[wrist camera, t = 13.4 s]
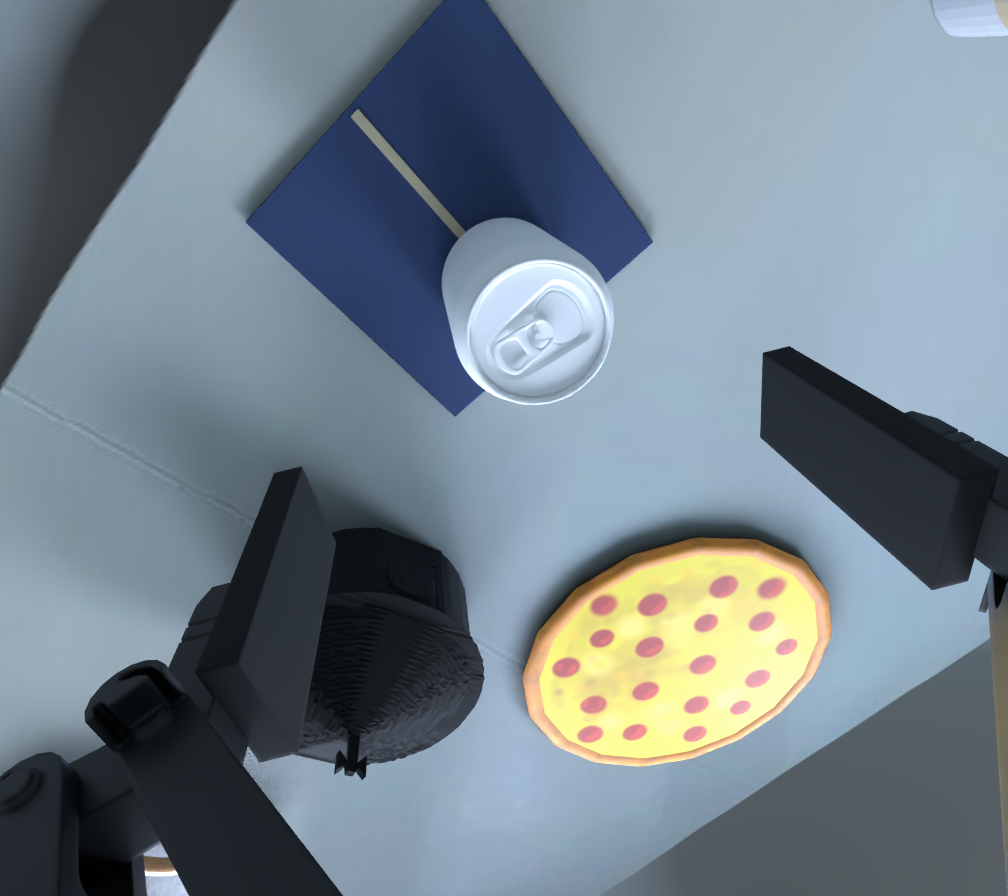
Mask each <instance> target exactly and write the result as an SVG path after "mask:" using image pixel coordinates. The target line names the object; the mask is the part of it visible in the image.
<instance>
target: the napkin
mask: <svg viewBox="0 0 1008 896" xmlns="http://www.w3.org/2000/svg"><path fill="white" fill-rule="evenodd" d="M495 218H516V219H521V220H524V221H527V222H529V223H532V224H534V225H535V226H537V227H539V228H540V229H542V230H544V231H545V232H547V233H548V234H550V235H551V236H553V237H555V238H556V239H558V240H559V241H561V242H562V243H564V244H566V245H567V246H569V247H570V248H572V249H573V250H575V251H577V252H578V253H580V254H581V255H582V256H584V257H585V258H586V259H588V260H589V261H590V262H591V263H592V264H593V265H594V266H595V268H596V269H597V270H598V271H599V273H600V274H601V276H602V277H603V279H604V281H605V283H607V282H608V281H609V280H610V279H612V278H613V277H614V276H615V275H616V274H617V273H618V272H620V271H621V270H622V269H623V268H624V267H625V266H626V265H627V264H629V263H630V262H631V261H632V260H633V259H634V258H635V257H637V256H638V255H639V254H640V253H641V252H642V251H643V250H644V249H646V248H647V247H648V246H649V245H650V244H651V243H652V242H653V241H652V240H651V238H650V237H649V235H648V234H647V233H646V231H645V230H644V228H643V227H642V225H641V224H640V223H639V221H638V220H637V218H636V217H635V215H634V214H633V213H632V211H631V210H630V208H629V207H628V205H627V204H626V203H625V201H624V200H623V198H622V197H621V195H620V194H619V193H618V191H617V190H616V188H615V187H614V185H613V184H612V182H611V181H610V180H609V178H608V177H607V175H606V174H605V172H604V171H603V170H602V168H601V167H600V165H599V164H598V162H597V161H596V160H595V158H594V157H593V155H592V154H591V152H590V151H589V150H588V148H587V147H586V145H585V144H584V142H583V141H582V140H581V138H580V137H579V135H578V134H577V132H576V131H575V130H574V128H573V127H572V125H571V124H570V122H569V121H568V120H567V118H566V117H565V115H564V114H563V112H562V111H561V109H560V108H559V107H558V105H557V104H556V102H555V101H554V99H553V98H552V97H551V95H550V94H549V92H548V91H547V89H546V88H545V87H544V85H543V84H542V82H541V81H540V79H539V78H538V77H537V75H536V74H535V72H534V71H533V69H532V68H531V67H530V65H529V64H528V62H527V61H526V59H525V58H524V57H523V55H522V54H521V52H520V51H519V49H518V48H517V47H516V45H515V44H514V42H513V41H512V39H511V38H510V37H509V35H508V34H507V32H506V31H505V29H504V28H503V26H502V25H501V24H500V22H499V21H498V19H497V18H496V16H495V15H494V14H493V12H492V11H491V9H490V8H489V6H488V5H487V4H486V2H485V1H484V0H444V1H443V2H442V3H441V5H440V6H439V7H438V8H437V9H436V10H435V11H434V12H433V13H432V15H431V16H430V17H429V18H428V19H427V20H426V21H425V22H424V24H423V25H422V26H421V27H420V28H419V29H418V30H417V31H416V32H415V34H414V35H413V36H412V37H411V38H410V39H409V40H408V41H407V43H406V44H405V45H404V46H403V47H402V48H401V49H400V50H399V51H398V53H397V54H396V55H395V56H394V57H393V58H392V59H391V60H390V61H389V63H388V64H387V65H386V66H385V67H384V68H383V69H382V70H381V72H380V73H379V74H378V75H377V76H376V77H375V78H374V79H373V80H372V82H371V83H370V84H369V85H368V86H367V87H366V88H365V89H364V91H363V92H362V93H361V94H360V95H359V96H358V97H357V98H356V99H355V101H354V102H353V103H352V104H351V105H350V106H349V107H348V108H347V110H346V111H345V112H344V113H343V114H342V115H341V116H340V117H339V118H338V120H337V121H336V122H335V123H334V124H333V125H332V126H331V127H330V129H329V130H328V131H327V132H326V133H325V134H324V135H323V136H322V137H321V139H320V140H319V141H318V142H317V143H316V144H315V145H314V146H313V148H312V149H311V150H310V151H309V152H308V153H307V154H306V155H305V156H304V158H303V159H302V160H301V161H300V162H299V163H298V164H297V165H296V166H295V168H294V169H293V170H292V171H291V172H290V173H289V174H288V175H287V177H286V178H285V179H284V180H283V181H282V182H281V183H280V184H279V185H278V187H277V188H276V189H275V190H274V191H273V192H272V193H271V194H270V196H269V197H268V198H267V199H266V200H265V201H264V202H263V203H262V204H261V206H260V207H259V208H258V209H257V210H256V211H255V212H254V213H253V215H252V216H251V217H250V218H249V219H248V220H247V221H246V223H247V224H248V225H249V226H250V227H251V228H252V229H253V230H254V231H255V232H257V233H258V234H259V235H260V236H261V237H262V238H263V239H264V240H265V241H266V242H267V243H268V244H269V245H271V246H272V247H273V248H274V249H275V250H276V251H277V252H278V253H279V254H280V255H281V256H282V257H284V258H285V259H286V260H287V261H288V262H289V263H290V264H291V265H292V266H293V267H294V268H295V269H296V270H298V271H299V272H300V273H301V274H302V275H303V276H304V277H305V278H306V279H307V280H308V281H309V282H310V283H312V284H313V285H314V286H315V287H316V288H317V289H318V290H319V291H320V292H321V293H322V294H323V295H324V296H326V297H327V298H328V299H329V300H330V301H331V302H332V303H333V304H334V305H335V306H336V307H337V308H339V309H340V310H341V311H342V312H343V313H344V314H345V315H346V316H347V317H348V318H349V319H350V320H351V321H353V322H354V323H355V324H356V325H357V326H358V327H359V328H360V329H361V330H362V331H363V332H364V333H365V334H367V335H368V336H369V337H370V338H371V339H372V340H373V341H374V342H375V343H376V344H377V345H378V346H379V347H381V348H382V349H383V350H384V351H385V352H386V353H387V354H388V355H389V356H390V357H391V358H392V359H394V360H395V361H396V362H397V363H398V364H399V365H400V366H401V367H402V368H403V369H404V370H405V371H406V372H408V373H409V374H410V375H411V376H412V377H413V378H414V379H415V380H416V381H417V382H418V383H419V384H420V385H422V386H423V387H424V388H425V389H426V390H427V391H428V392H429V393H430V394H431V395H432V396H433V397H434V398H436V399H437V400H438V401H439V402H440V403H441V404H442V405H443V406H444V407H445V408H446V409H447V410H449V411H450V412H451V413H452V414H453V415H454V416H456V415H457V414H459V413H460V412H461V411H462V410H463V409H464V408H465V407H466V406H468V405H469V404H470V403H471V402H472V401H473V400H474V399H476V398H477V397H478V396H479V395H480V394H481V393H482V392H483V391H485V389H483V388H482V387H481V386H479V385H478V384H477V383H476V382H475V381H474V380H473V379H472V378H471V377H470V375H469V374H468V373H467V371H466V370H465V368H464V367H463V365H462V363H461V361H460V359H459V357H458V354H457V351H456V348H455V345H454V340H453V336H452V332H451V328H450V324H449V320H448V316H447V311H446V307H445V303H444V299H443V294H442V273H443V268H444V265H445V262H446V259H447V256H448V254H449V252H450V251H451V249H452V247H453V246H454V244H455V243H456V242H457V241H458V239H459V238H460V237H461V236H462V235H463V234H464V233H466V232H467V231H468V230H469V229H471V228H472V227H474V226H476V225H478V224H480V223H482V222H484V221H487V220H491V219H495Z"/></svg>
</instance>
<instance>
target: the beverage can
mask: <svg viewBox="0 0 1008 896" xmlns="http://www.w3.org/2000/svg"><path fill="white" fill-rule="evenodd" d="M442 294H443V299H444V303H445V307H446V311H447V316H448V320H449V324H450V328H451V332H452V336H453V340H454V345H455V348H456V351H457V354H458V357H459V359H460V361H461V363H462V365H463V367H464V368H465V370H466V371H467V373H468V374H469V375H470V377H471V378H472V379H473V380H474V381H475V382H476V383H477V384H478V385H479V386H481V387H482V388H483V389H485V390H486V391H487V392H489V393H491V394H493V395H495V396H497V397H499V398H502V399H504V400H508V401H512V402H516V403H520V404H528V405H540V404H547V403H552V402H556V401H559V400H561V399H564V398H566V397H568V396H570V395H572V394H574V393H575V392H577V391H578V390H580V389H581V388H582V387H584V386H585V385H586V384H587V383H588V382H589V381H590V380H591V379H592V378H593V377H594V376H595V374H596V373H597V372H598V370H599V369H600V367H601V366H602V364H603V362H604V360H605V358H606V356H607V353H608V351H609V348H610V344H611V339H612V332H613V323H614V313H613V304H612V299H611V296H610V292H609V290H608V287H607V285H606V283H605V281H604V279H603V277H602V276H601V274H600V273H599V271H598V270H597V269H596V268H595V266H594V265H593V264H592V263H591V262H590V261H589V260H588V259H586V258H585V257H584V256H582V255H581V254H580V253H578V252H577V251H575V250H573V249H572V248H570V247H569V246H567V245H566V244H564V243H562V242H561V241H559V240H558V239H556V238H555V237H553V236H551V235H550V234H548V233H547V232H545V231H544V230H542V229H540V228H539V227H537V226H535V225H534V224H532V223H529V222H527V221H524V220H521V219H516V218H495V219H491V220H487V221H484V222H482V223H480V224H478V225H476V226H474V227H472V228H471V229H469V230H468V231H467V232H466V233H464V234H463V235H462V236H461V237H460V238H459V239H458V241H457V242H456V243H455V244H454V246H453V247H452V249H451V251H450V252H449V254H448V256H447V259H446V262H445V265H444V268H443V273H442Z"/></svg>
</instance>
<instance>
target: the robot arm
mask: <svg viewBox="0 0 1008 896" xmlns="http://www.w3.org/2000/svg"><path fill="white" fill-rule="evenodd" d="M760 437H761V438H762V439H763V440H764V441H765V442H766V443H767V444H768V445H770V446H771V447H772V448H773V449H774V450H775V451H776V452H777V453H779V454H780V455H781V456H782V457H783V458H784V459H785V460H786V461H788V462H789V463H790V464H791V465H792V466H793V467H794V468H795V469H797V470H798V471H799V472H800V473H801V474H802V475H803V476H804V477H805V478H807V479H808V480H809V481H810V482H811V483H812V484H813V485H814V486H816V487H817V488H818V489H819V490H820V491H821V492H822V493H823V494H825V495H826V496H827V497H828V498H829V499H830V500H831V501H832V502H834V503H835V504H836V505H837V506H838V507H839V508H840V509H841V510H843V511H844V512H845V513H846V514H847V515H848V516H849V517H850V518H851V519H853V520H854V521H855V522H856V523H857V524H858V525H859V526H860V527H862V528H863V529H864V530H865V531H866V532H867V533H868V534H869V535H871V536H872V537H873V538H874V539H875V540H876V541H877V542H878V543H880V544H881V545H882V546H883V547H884V548H885V549H886V550H887V551H888V552H890V553H891V554H892V555H893V556H894V557H895V558H896V559H897V560H899V561H900V562H901V563H902V564H903V565H904V566H905V567H906V568H908V569H909V570H910V571H911V572H912V573H913V574H914V575H915V576H917V577H918V578H919V579H920V580H921V581H922V582H923V583H924V584H926V585H927V586H928V587H929V588H930V589H931V590H935V589H938V588H942V587H946V586H950V585H954V584H958V583H962V582H966V581H968V579H969V576H970V572H971V569H972V565H973V562H974V558H976V559H977V560H979V561H980V562H981V563H983V564H984V565H985V566H986V567H988V568H989V569H990V570H991V572H990V576H989V579H988V582H987V585H986V589H985V592H984V595H983V598H982V601H981V605H980V608H979V611H980V612H984V613H986V611H987V608H988V609H989V625H990V640H991V656H992V672H993V685H994V702H995V719H996V734H997V750H998V765H999V780H1000V797H1001V812H1002V828H1003V844H1004V859H1005V876H1006V891H1007V896H1008V457H1006V456H1005V455H1003V454H1001V453H999V452H997V451H996V450H994V449H992V448H990V447H988V446H987V445H985V444H983V443H981V442H979V441H974V438H972V437H970V436H968V435H967V434H965V433H963V432H958V429H956V428H954V427H952V426H950V425H949V424H947V423H945V422H943V421H941V420H940V419H938V418H934V417H931V416H928V415H924V414H921V413H917V412H914V411H910V412H906V413H903V412H901V411H900V410H898V409H896V408H894V407H893V406H891V405H889V404H888V403H886V402H884V401H882V400H881V399H879V398H877V397H876V396H874V395H872V394H870V393H869V392H867V391H865V390H864V389H862V388H860V387H858V386H857V385H855V384H853V383H851V382H850V381H848V380H846V379H845V378H843V377H841V376H839V375H838V374H836V373H834V372H833V371H831V370H829V369H827V368H826V367H824V366H822V365H821V364H819V363H817V362H815V361H814V360H812V359H810V358H809V357H807V356H805V355H803V354H802V353H800V352H798V351H796V350H795V349H793V348H791V347H790V346H789V347H785V348H781V349H776V350H772V351H768V352H764V353H763V366H762V398H761V431H760ZM335 547H336V541H335V539H334V537H333V534H332V532H331V530H330V528H329V526H328V523H327V521H326V519H325V517H324V515H323V512H322V510H321V508H320V506H319V504H318V501H317V499H316V497H315V495H314V492H313V490H312V488H311V486H310V484H309V481H308V479H307V477H306V475H305V473H304V470H303V468H302V466H301V467H297V468H293V469H289V470H285V471H281V472H276V473H274V475H273V477H272V480H271V482H270V485H269V487H268V490H267V492H266V495H265V497H264V500H263V502H262V505H261V507H260V510H259V513H258V515H257V518H256V520H255V523H254V525H253V528H252V530H251V533H250V535H249V538H248V540H247V543H246V545H245V548H244V550H243V553H242V555H241V558H240V560H239V563H238V565H237V568H236V570H235V573H234V575H233V578H232V580H231V583H227V584H223V585H219V586H215V587H212V588H211V590H210V591H209V592H208V593H207V594H206V595H205V596H204V597H203V599H202V600H201V601H200V602H199V603H198V604H197V605H196V608H195V610H194V612H193V614H192V617H191V619H190V621H189V623H188V625H189V627H187V628H186V630H185V632H184V634H183V636H182V639H181V640H182V643H179V645H178V648H177V650H176V652H175V654H174V656H173V659H172V661H171V663H170V665H169V668H168V667H167V666H166V665H165V664H164V663H162V662H160V661H158V660H145V661H142V662H139V663H136V664H133V665H130V666H129V667H127V668H125V669H123V670H122V671H120V672H118V673H116V674H115V675H114V676H112V677H111V678H110V679H109V680H108V681H106V682H105V683H104V684H103V685H102V686H101V687H100V688H99V689H98V690H97V692H96V693H95V694H94V695H93V696H92V698H91V699H90V701H89V703H88V705H87V708H86V710H85V722H86V723H87V724H88V725H89V727H90V728H91V729H92V730H93V731H94V732H95V733H96V734H97V735H98V736H99V737H100V738H101V739H102V740H103V742H104V743H105V744H106V745H105V746H103V747H101V748H99V749H97V750H95V751H93V752H91V753H89V754H87V755H85V756H83V757H81V758H79V759H77V760H75V761H73V762H71V763H69V764H68V763H67V762H66V761H65V760H64V759H63V758H62V757H61V756H60V755H57V754H55V753H53V752H47V753H40V754H36V755H34V756H32V757H29V758H27V759H25V760H23V761H21V762H19V763H18V764H16V765H15V766H13V767H12V768H11V769H9V770H8V771H6V772H5V773H4V774H3V775H1V776H0V896H147V889H146V878H145V867H144V856H143V854H144V853H145V852H147V851H149V850H151V849H152V848H154V847H156V846H158V845H159V844H162V846H163V848H164V850H165V852H166V853H167V855H168V857H169V859H170V861H171V863H172V865H173V867H174V869H175V870H176V872H177V874H178V876H179V878H180V880H181V882H182V884H183V886H184V888H185V889H186V891H187V893H188V895H189V896H343V895H342V894H341V893H340V891H339V890H338V889H337V887H336V886H335V885H334V883H333V882H332V881H331V880H330V878H329V877H328V876H327V874H326V873H325V872H324V870H323V869H322V868H321V867H320V865H319V864H318V863H317V861H316V860H315V859H314V857H313V856H312V855H311V854H310V852H309V851H308V850H307V848H306V847H305V846H304V844H303V843H302V842H301V841H300V839H299V838H298V837H297V835H296V834H295V833H294V831H293V830H292V829H291V828H290V826H289V825H288V824H287V822H286V821H285V820H284V818H283V817H282V816H281V815H280V813H279V812H278V811H277V809H276V808H275V807H274V805H273V804H272V803H271V802H270V800H269V799H268V798H267V796H266V795H265V794H264V792H263V791H262V790H261V789H260V787H259V786H258V785H257V783H256V782H255V781H254V779H253V778H252V777H251V776H250V774H249V773H248V772H247V770H246V769H245V768H244V766H243V762H244V758H245V754H246V750H247V747H249V748H250V749H251V751H252V752H253V754H254V755H255V756H256V758H257V759H258V761H259V762H264V761H268V760H272V759H276V758H280V757H284V756H288V755H292V754H295V753H298V750H299V744H300V739H301V733H302V728H303V722H304V717H305V711H306V706H307V700H308V695H309V690H310V684H311V679H312V673H313V668H314V662H315V657H316V651H317V646H318V640H319V635H320V629H321V624H322V618H323V613H324V607H325V602H326V596H327V591H328V586H329V580H330V575H331V569H332V564H333V558H334V553H335Z"/></svg>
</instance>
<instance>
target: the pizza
mask: <svg viewBox="0 0 1008 896" xmlns="http://www.w3.org/2000/svg"><path fill="white" fill-rule="evenodd" d="M830 638H831V621H830V604H829V593H828V592H827V591H826V589H825V588H824V587H823V585H822V584H821V583H820V581H819V580H818V578H817V577H816V576H815V574H814V573H813V572H812V570H811V569H810V568H809V566H808V565H807V564H806V562H805V561H804V560H802V559H800V558H798V557H796V556H793V555H791V554H789V553H786V552H784V551H782V550H780V549H777V548H775V547H773V546H771V545H768V544H766V543H764V542H761V541H759V540H756V539H733V538H701V537H695V538H691V539H687V540H684V541H680V542H677V543H673V544H669V545H666V546H662V547H658V548H655V549H651V550H647V551H644V552H640V553H636V554H633V555H630V556H629V557H627V558H625V559H624V560H622V561H621V562H619V563H617V564H616V565H614V566H612V567H611V568H609V569H607V570H606V571H604V572H602V573H601V574H599V575H597V576H596V577H594V578H592V579H591V580H589V581H587V582H586V583H584V584H582V585H581V586H579V587H577V588H576V589H575V590H574V591H573V592H572V593H571V595H570V596H569V597H568V598H567V599H566V600H565V601H564V602H563V604H562V605H561V606H560V607H559V608H558V609H557V610H556V612H555V613H554V614H553V615H552V616H551V617H550V618H549V619H548V621H547V622H546V623H545V624H544V625H543V626H542V627H541V629H540V630H539V631H538V633H537V636H536V639H535V642H534V645H533V648H532V650H531V653H530V656H529V659H528V662H527V665H526V668H525V671H524V674H523V677H522V680H523V685H524V690H525V696H526V701H527V707H528V712H529V716H530V717H531V719H532V720H533V721H534V722H535V723H536V724H537V725H538V726H539V727H540V728H541V730H542V731H543V732H544V733H545V734H546V735H547V736H548V737H549V738H550V740H551V741H552V742H553V743H554V744H555V745H556V746H557V747H559V748H562V749H564V750H566V751H569V752H571V753H573V754H576V755H578V756H581V757H583V758H585V759H588V760H590V761H592V762H595V763H606V764H618V765H630V766H648V765H654V764H660V763H666V762H672V761H679V760H685V759H691V758H694V757H696V756H699V755H701V754H704V753H706V752H709V751H712V750H714V749H717V748H719V747H722V746H724V745H727V744H729V743H732V742H735V741H737V740H740V739H741V738H743V737H744V736H746V735H747V734H749V733H750V732H752V731H753V730H755V729H756V728H758V727H759V726H761V725H762V724H764V723H765V722H767V721H768V720H770V719H771V718H773V717H774V716H776V715H777V714H779V713H780V712H782V711H783V710H784V708H785V707H786V706H787V705H788V704H789V703H790V702H791V701H792V700H793V699H794V697H795V696H796V695H797V694H798V693H799V692H800V691H801V690H802V689H803V687H804V686H805V685H806V684H807V683H808V682H809V681H810V680H811V679H812V678H813V676H814V675H815V673H816V670H817V668H818V666H819V663H820V661H821V659H822V656H823V654H824V652H825V650H826V647H827V645H828V643H829V640H830Z"/></svg>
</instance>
